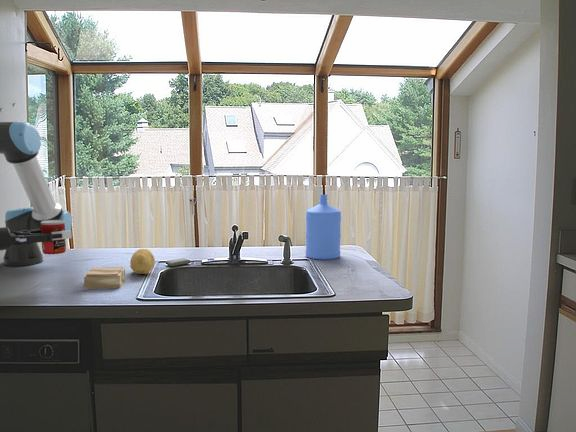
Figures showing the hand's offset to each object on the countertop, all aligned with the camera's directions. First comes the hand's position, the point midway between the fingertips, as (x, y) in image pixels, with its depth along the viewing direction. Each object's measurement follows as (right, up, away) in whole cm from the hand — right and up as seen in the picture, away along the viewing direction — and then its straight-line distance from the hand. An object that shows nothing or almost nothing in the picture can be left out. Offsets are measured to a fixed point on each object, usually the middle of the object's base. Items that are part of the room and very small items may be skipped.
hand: (67, 232), depth 195 cm
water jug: (+94, -13, +53) cm, 109 cm away
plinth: (+13, -19, +3) cm, 23 cm away
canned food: (-4, -7, -2) cm, 8 cm away
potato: (+21, -17, +19) cm, 33 cm away
